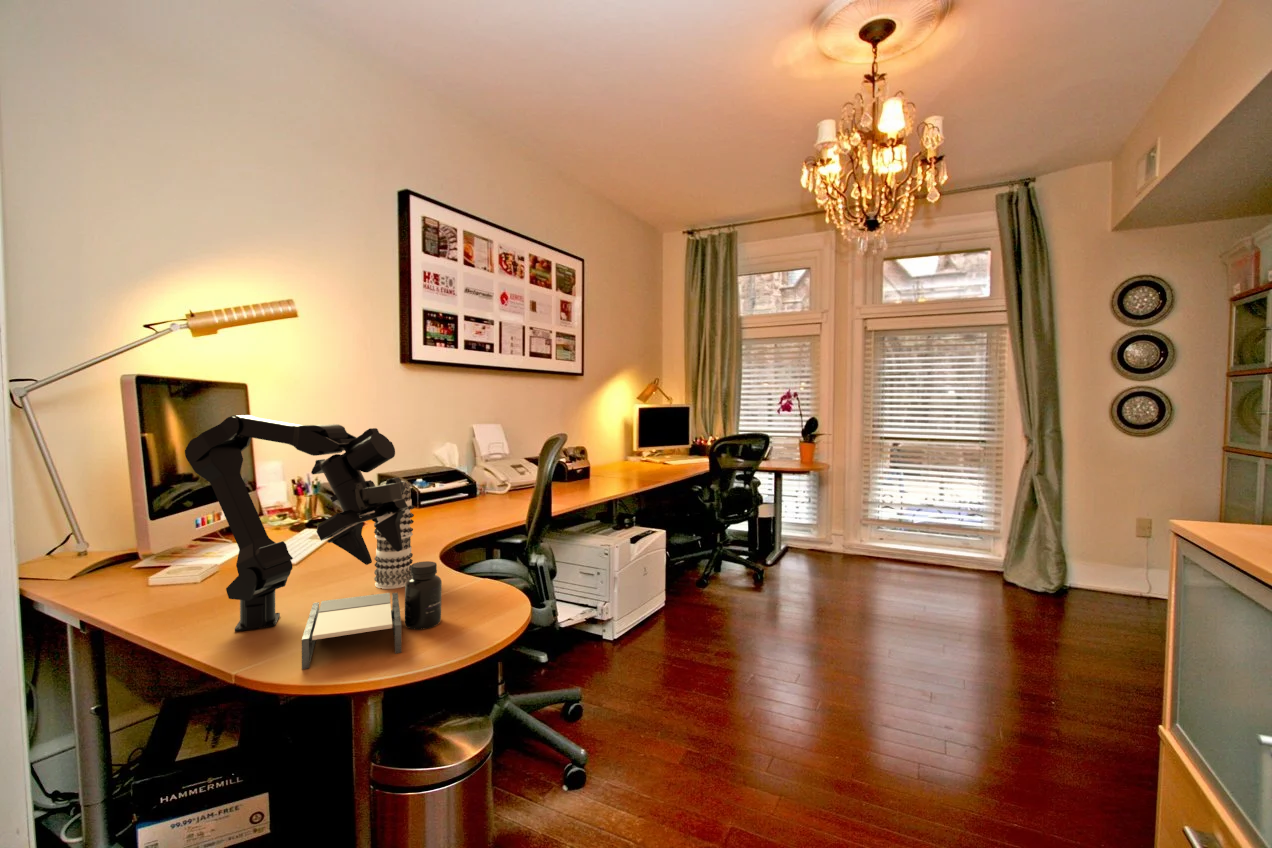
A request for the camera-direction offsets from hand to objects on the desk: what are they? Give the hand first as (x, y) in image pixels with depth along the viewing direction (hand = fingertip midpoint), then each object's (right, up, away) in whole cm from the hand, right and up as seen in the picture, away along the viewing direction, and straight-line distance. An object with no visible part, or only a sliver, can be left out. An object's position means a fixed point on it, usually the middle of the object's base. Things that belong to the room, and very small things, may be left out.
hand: (385, 556), depth 101 cm
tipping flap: (-5, -13, -2) cm, 13 cm away
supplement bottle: (+5, -15, +6) cm, 17 cm away
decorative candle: (-12, -14, +30) cm, 35 cm away
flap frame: (-5, -15, -2) cm, 16 cm away
